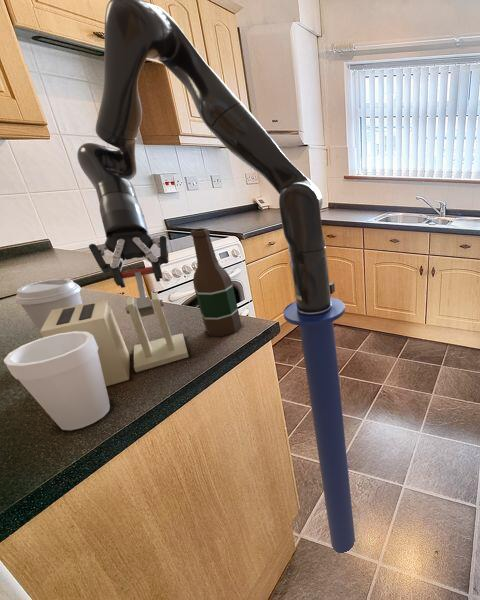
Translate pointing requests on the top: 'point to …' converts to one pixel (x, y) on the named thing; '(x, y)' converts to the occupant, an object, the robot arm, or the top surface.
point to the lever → (141, 290)
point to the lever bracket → (158, 349)
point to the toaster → (94, 335)
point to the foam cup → (63, 377)
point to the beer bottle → (213, 288)
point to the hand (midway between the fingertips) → (140, 282)
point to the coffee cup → (47, 298)
